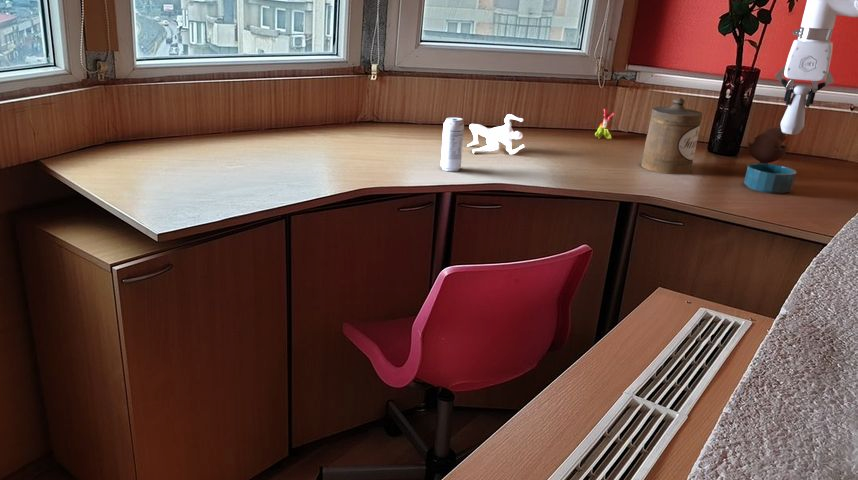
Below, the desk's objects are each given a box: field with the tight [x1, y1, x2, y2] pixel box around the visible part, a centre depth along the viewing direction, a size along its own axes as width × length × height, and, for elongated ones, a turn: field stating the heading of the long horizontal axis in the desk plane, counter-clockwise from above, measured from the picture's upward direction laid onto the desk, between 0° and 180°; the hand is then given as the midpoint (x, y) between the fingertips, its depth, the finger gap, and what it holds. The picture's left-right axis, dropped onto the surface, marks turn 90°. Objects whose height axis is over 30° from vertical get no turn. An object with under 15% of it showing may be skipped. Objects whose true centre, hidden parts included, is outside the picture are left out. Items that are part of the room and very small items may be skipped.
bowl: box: [743, 162, 797, 195], centre depth 207 cm, size 13×13×6 cm
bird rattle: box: [594, 108, 616, 140], centre depth 264 cm, size 6×11×9 cm
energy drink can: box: [440, 116, 465, 172], centre depth 211 cm, size 6×6×15 cm
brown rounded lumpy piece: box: [747, 126, 789, 164], centre depth 220 cm, size 11×11×15 cm
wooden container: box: [640, 97, 703, 175], centre depth 222 cm, size 15×15×22 cm
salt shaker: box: [780, 84, 811, 135], centre depth 196 cm, size 6×6×13 cm
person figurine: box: [466, 113, 526, 156], centre depth 237 cm, size 13×13×18 cm
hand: (797, 104), depth 196 cm, fingers closed on salt shaker, 4 cm apart
